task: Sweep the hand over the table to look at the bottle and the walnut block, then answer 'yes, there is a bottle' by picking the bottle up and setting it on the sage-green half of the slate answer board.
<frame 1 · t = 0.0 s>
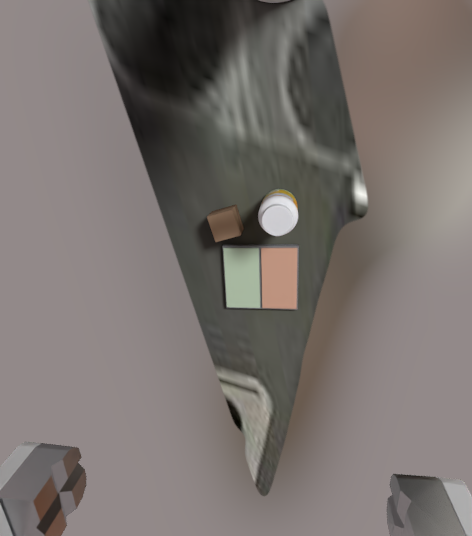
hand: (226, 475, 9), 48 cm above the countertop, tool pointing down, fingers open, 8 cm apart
answer board: (261, 276, 59), on the countertop
supplement bottle: (279, 206, 55), on the countertop
walnut block: (228, 219, 57), on the countertop
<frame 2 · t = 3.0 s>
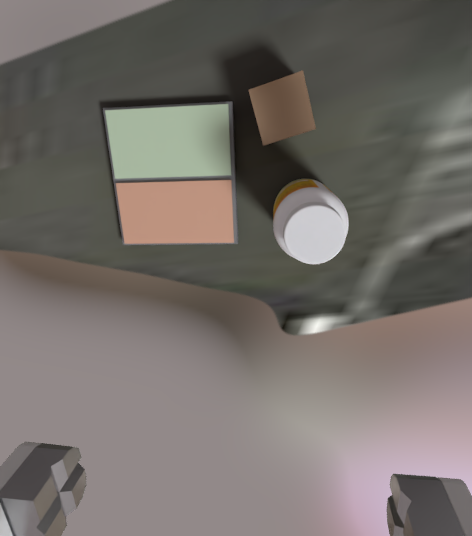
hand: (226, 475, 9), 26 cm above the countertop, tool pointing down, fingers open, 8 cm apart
answer board: (175, 178, 32), on the countertop
supplement bottle: (303, 208, 32), on the countertop
walnut block: (281, 113, 30), on the countertop
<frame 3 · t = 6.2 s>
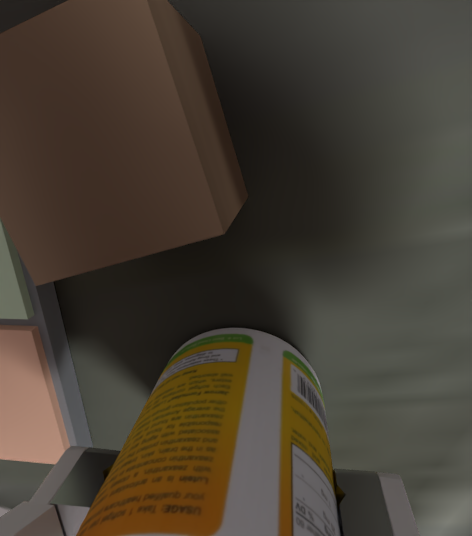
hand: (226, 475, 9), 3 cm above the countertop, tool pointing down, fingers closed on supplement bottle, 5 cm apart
supplement bottle: (242, 388, 12), on the countertop, touching gripper
walnut block: (157, 145, 10), on the countertop
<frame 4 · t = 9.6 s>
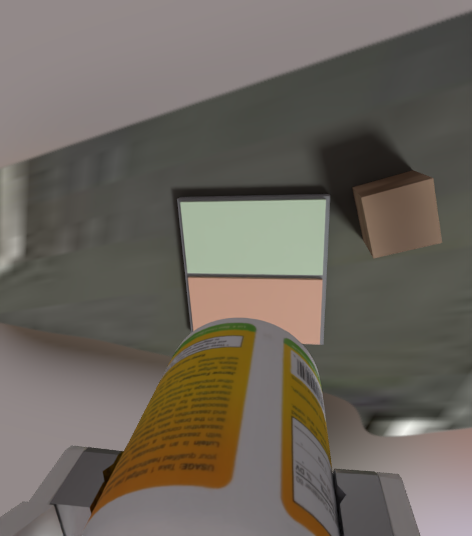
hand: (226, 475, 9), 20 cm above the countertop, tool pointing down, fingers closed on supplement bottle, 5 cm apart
answer board: (254, 271, 29), on the countertop
supplement bottle: (245, 375, 13), point 16 cm above the countertop, touching gripper
walnut block: (386, 206, 25), on the countertop
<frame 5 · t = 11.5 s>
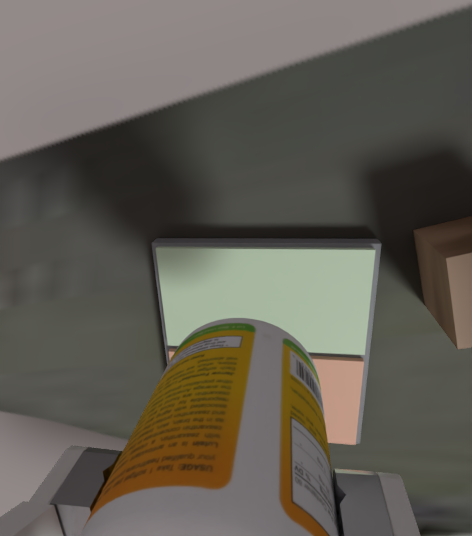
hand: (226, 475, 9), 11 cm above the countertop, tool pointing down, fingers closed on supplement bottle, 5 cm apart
answer board: (263, 341, 20), on the countertop
supplement bottle: (244, 375, 13), point 6 cm above the countertop, touching gripper
walnut block: (463, 258, 17), on the countertop
when the fingers open (5 cm above the countertop, at t = 13.0 s): supplement bottle stays where it is, resting on answer board.
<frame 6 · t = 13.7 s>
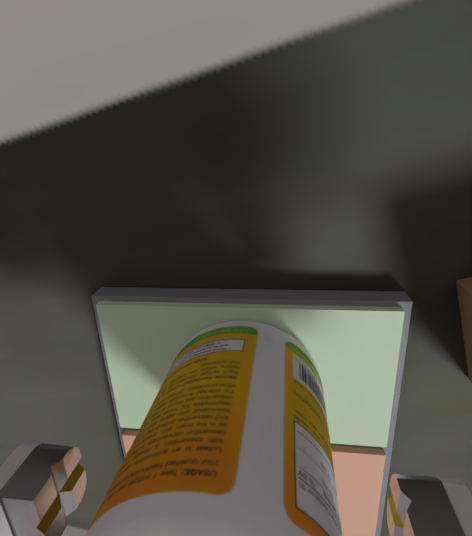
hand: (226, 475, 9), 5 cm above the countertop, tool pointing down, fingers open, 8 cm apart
answer board: (249, 419, 15), on the countertop
supplement bottle: (246, 378, 13), point 1 cm above the countertop, touching answer board
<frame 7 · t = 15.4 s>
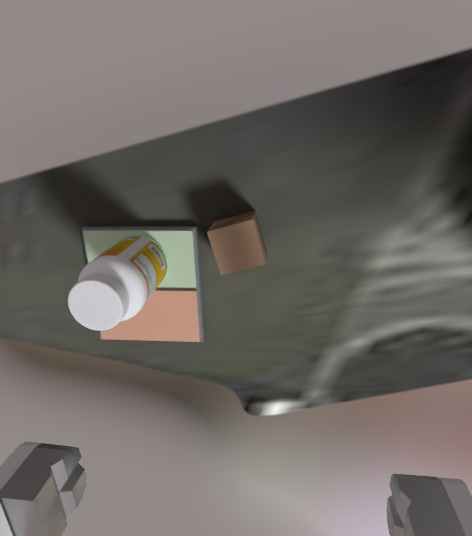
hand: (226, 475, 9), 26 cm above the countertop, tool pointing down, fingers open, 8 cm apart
answer board: (147, 284, 36), on the countertop
supplement bottle: (142, 260, 34), point 1 cm above the countertop, touching answer board
walnut block: (240, 236, 34), on the countertop
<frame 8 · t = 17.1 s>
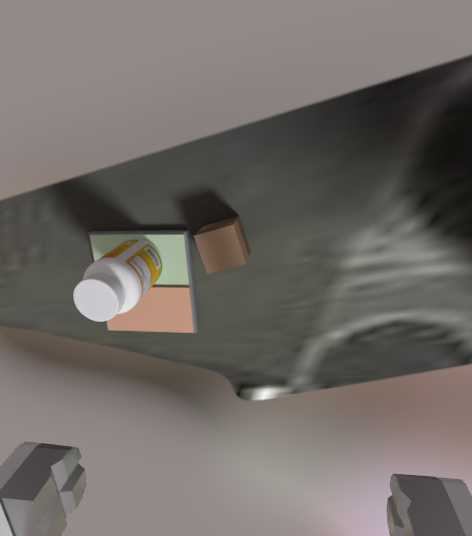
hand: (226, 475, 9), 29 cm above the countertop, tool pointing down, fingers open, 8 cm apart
answer board: (146, 281, 41), on the countertop
supplement bottle: (141, 261, 39), point 1 cm above the countertop, touching answer board
walnut block: (226, 238, 38), on the countertop
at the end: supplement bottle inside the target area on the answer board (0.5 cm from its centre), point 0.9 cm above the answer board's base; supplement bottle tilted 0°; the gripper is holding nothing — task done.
